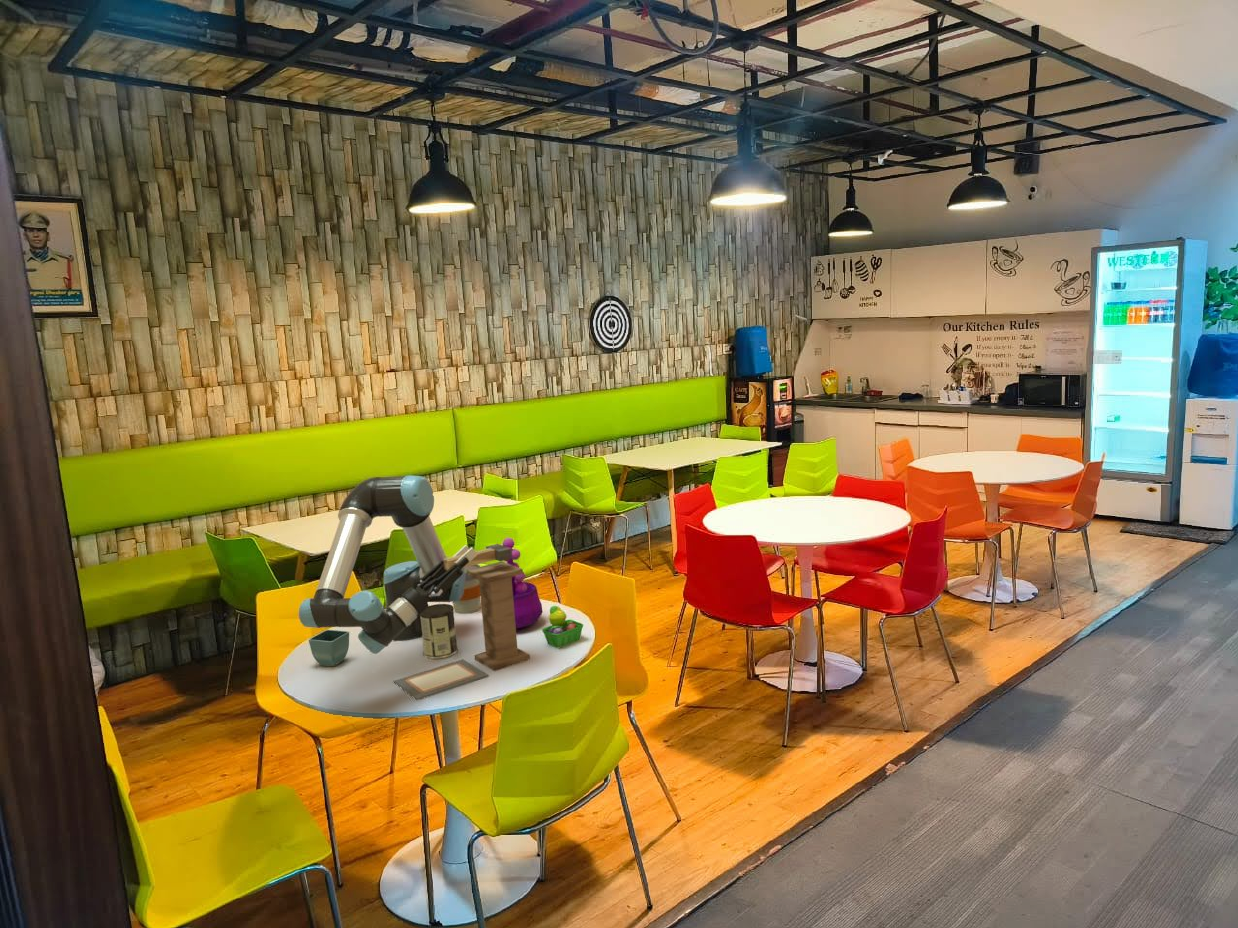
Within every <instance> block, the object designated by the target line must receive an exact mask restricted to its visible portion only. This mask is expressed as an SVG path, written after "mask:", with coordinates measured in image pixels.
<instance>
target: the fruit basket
mask: <svg viewBox="0 0 1238 928" xmlns="http://www.w3.org/2000/svg"><path fill="white" fill-rule="evenodd" d="M548 616H549V617H548V620H549V623H550V624H551V625H548V626H546V627H544V628H542V629H541V632H542V633H543V634H544V637H545V640H546V643H547V645H548V644H549V645H550V646H551V647H554V648H556V649H559V648H561V647H565V646H567V645H570V644H572V643H575V642H579V641H580V640H581V635H582V630H583V627H584V624H583V623H582V622H578V621H575V620H572V619H567V614H566V613H565V611H563V609H561V607H560V606H557V605H552V606H551V607H550V608H549V615H548ZM549 645H548V646H549Z"/></svg>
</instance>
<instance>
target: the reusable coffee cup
mask: <svg viewBox="0 0 1238 928" xmlns="http://www.w3.org/2000/svg"><path fill="white" fill-rule="evenodd" d="M477 567H481V565H480V564H477V565H473V566H469V567H465V568H464V570H465V588H464V593H463V596H462V598H461V599H460V600H459V601H454V602H452V606H453V608H454V610H453V611H454V613H456V614H460V615H461V614H464V615H465V614H472V613H475V612H477V611H479V610H480V608H481V595H480V584H479V580H478V579H475V578H473V577H471V576H468V575H467V570H469V569H473V568H477Z"/></svg>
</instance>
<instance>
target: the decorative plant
mask: <svg viewBox="0 0 1238 928" xmlns="http://www.w3.org/2000/svg"><path fill="white" fill-rule="evenodd" d="M501 545H503V546H505V547H508V548H511V551H512V559H508V560H504V561H503V562H505V563H508V564H511V565H513V566H516V567H519V568H520V565H519V563H518V562H515V561H517V560H518V559H520V557H521V552H520V550H518V549H516V548H514V546H515V541H514V539H513V538H511V537H506V538H505V539H503V541H502V544H501ZM511 578H512V590H513V601H514V613H515V625H516V629H521V628H524V627H527V626H531V625H532V624H535V623H536V622H537V621H539V620H540V618H541V616H542V614H543V606H542V605H543V604H542V602H541V600H540V596H539V593H538V589H537V586H536V585H535V584H534V583H530V582H525V581H524V580H525V579H526V574H525V572H524V571H523V574H521V575H517V576H513V577H511Z"/></svg>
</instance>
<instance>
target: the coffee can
mask: <svg viewBox="0 0 1238 928" xmlns="http://www.w3.org/2000/svg"><path fill="white" fill-rule="evenodd" d="M454 614H455V610H454V606H453V604H452V605H451V604H448V603H438V604H430V605H429V607H428V608H427V609H426V610H425V611H424V612H423V613H422V614H421V615H420V618H421V627H422V636H421V637H422V643H423V654H424V657H425V658H427V659H431V660H441V659H446V658H449V657H452V656H454V655H456V654H457V653H458V645H457V634H456V624H455V615H454Z"/></svg>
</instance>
